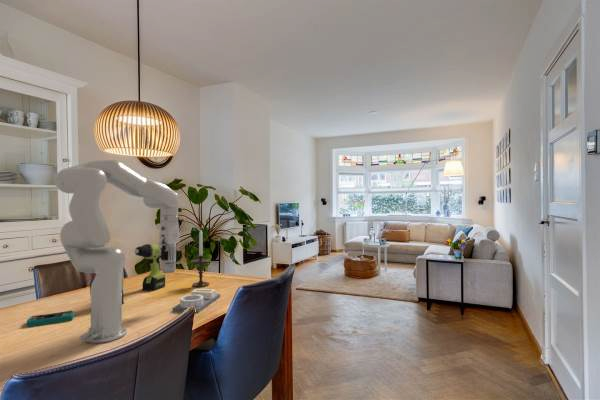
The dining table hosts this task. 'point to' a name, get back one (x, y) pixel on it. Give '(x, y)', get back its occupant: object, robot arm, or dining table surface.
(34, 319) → the digital multimeter
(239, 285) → the dining table surface
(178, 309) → the socket board
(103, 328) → the robot arm
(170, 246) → the energy drink can
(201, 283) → the candlestick
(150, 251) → the cordless drill
